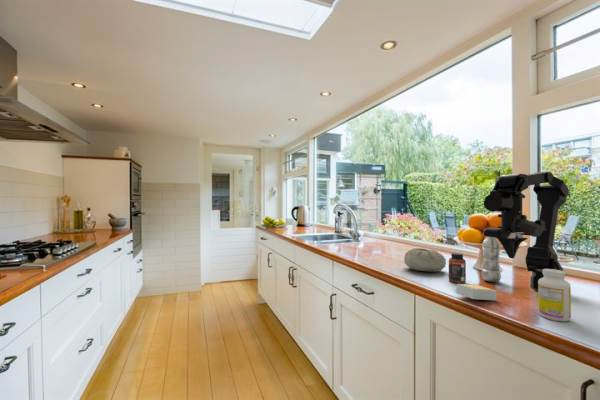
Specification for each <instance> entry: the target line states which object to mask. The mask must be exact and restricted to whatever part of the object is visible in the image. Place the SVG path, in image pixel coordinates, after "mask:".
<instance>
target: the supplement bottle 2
mask: <svg viewBox="0 0 600 400" xmlns="http://www.w3.org/2000/svg"><path fill="white" fill-rule="evenodd" d="M542 273H543V275H544V277H543V278H540V279H539V280H538V291H537V300H538V301H537V309H538V315H540V317H542V318H545V319H548V320H551V321H554V322H555V321H556V322H570V321H571V320H572V312H571V311H572V307H571V306H572V305H571V304H572V302H571V301H572V300H571V297H572V296H571V295H572V291H571V283H570V282H569V281H568V280H565V277H566V271H564V270H563V271H561V270H555V269H543V271H542Z"/></svg>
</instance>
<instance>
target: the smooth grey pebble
mask: <svg viewBox="0 0 600 400" xmlns="http://www.w3.org/2000/svg"><path fill="white" fill-rule="evenodd" d="M403 261H404V264H405V266H407V267H408V268H410V269H411V270H414V271H417V272H418V271H419V272H438V271H442V270H444V268H446V264H447V262H446V258H445V256H444V255H443V254H442V253H440V252H438V251H436V250H433V249H432V250H431V249H427V248H421V247H415V248H414V247H413V248H411V249H409V250H407V252H406V253H404V259H403Z"/></svg>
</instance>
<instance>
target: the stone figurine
mask: <svg viewBox="0 0 600 400" xmlns="http://www.w3.org/2000/svg"><path fill="white" fill-rule="evenodd" d="M481 247H482V254H483V256H482V257H483V263H482V264H483V265H482V269H481V278H482V279H483V280H484V281H486V282H489V283H499V282H500V281H501V279H502V273H501V269H500V255H501V248H502V244H501V243H500V241H499V240H498V238H495V237H487V236H485V238H484V239H483V241H482V243H481Z"/></svg>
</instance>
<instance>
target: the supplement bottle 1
mask: <svg viewBox="0 0 600 400" xmlns="http://www.w3.org/2000/svg"><path fill="white" fill-rule="evenodd" d="M450 254H451V257H450V258H449V259H448V281H449V282H451V283H453V284H454V283H455V284H465V283H466V279H467V277H466V276H467V272H466V271H467V267H466V266H467V265H466V264H467V263H466V260H465V259H464V254H463V253H461V252H451V253H450Z"/></svg>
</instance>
